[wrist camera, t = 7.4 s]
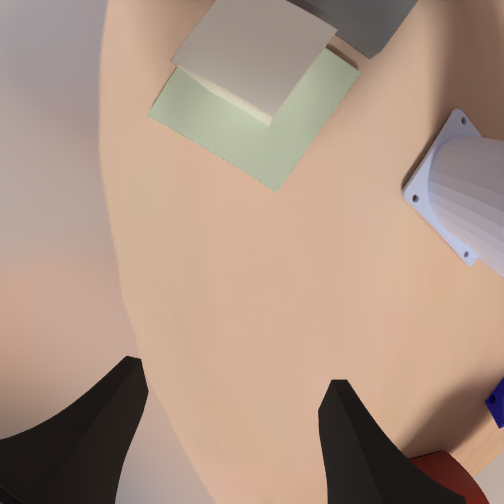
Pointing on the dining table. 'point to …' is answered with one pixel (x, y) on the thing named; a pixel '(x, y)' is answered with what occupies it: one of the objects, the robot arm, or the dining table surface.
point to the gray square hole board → (361, 20)
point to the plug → (253, 52)
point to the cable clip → (497, 404)
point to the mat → (249, 127)
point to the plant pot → (451, 476)
